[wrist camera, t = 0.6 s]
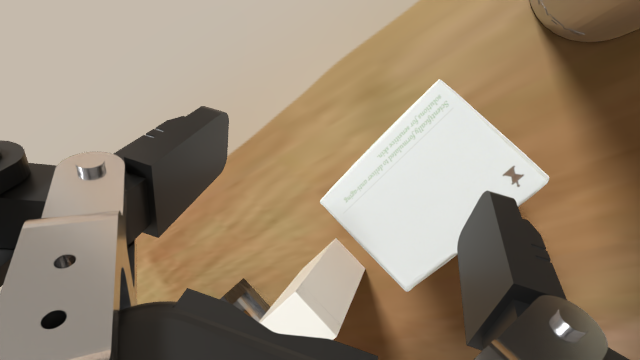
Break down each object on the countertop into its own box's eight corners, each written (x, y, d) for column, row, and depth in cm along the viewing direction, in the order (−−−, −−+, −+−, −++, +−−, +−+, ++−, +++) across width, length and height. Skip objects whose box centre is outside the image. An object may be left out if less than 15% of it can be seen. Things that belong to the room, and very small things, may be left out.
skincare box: (436, 89, 29) (444, 64, 15) (495, 146, 29) (565, 179, 14) (365, 160, 32) (311, 199, 17) (417, 213, 31) (408, 299, 17)
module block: (335, 237, 34) (295, 291, 24) (365, 268, 34) (336, 336, 23) (302, 268, 36) (250, 331, 25) (330, 298, 35) (289, 374, 25)
